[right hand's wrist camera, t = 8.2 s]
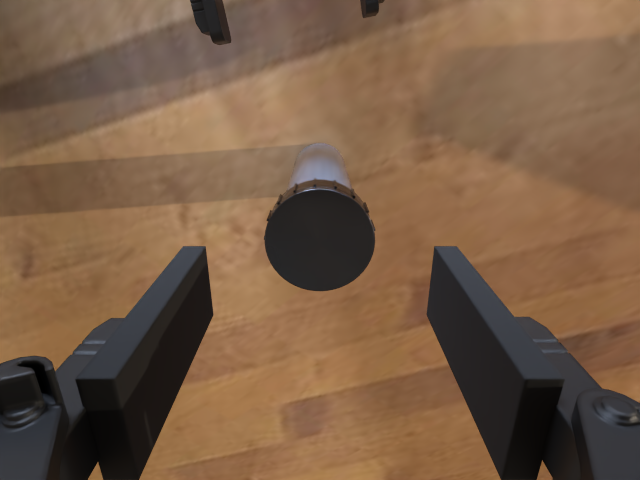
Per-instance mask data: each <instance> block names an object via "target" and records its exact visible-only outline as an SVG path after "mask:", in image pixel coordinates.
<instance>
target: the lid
mask: <svg viewBox="0 0 640 480" xmlns="http://www.w3.org/2000/svg"><path fill="white" fill-rule="evenodd" d="M368 213H369V210H368V208H367V205H366V203H363V202H362V200H361V199H360V198H359V196H358V195H357V194H356V193H355V192H354V189H349V188H348V187H346V186H344V185H342V184H340V183H337V182H336V180H334V181H330V180H316V178H314V180H310V181H305V182H302V183H300V184H297V183H295V185H294V186H293V187H292V188H290V189H289V190H287V191H286V192H285V193H284V194H283V195H281V194H280V196H279V198H278V201H277V202H276V204H275V206H274V208H273V210H272V211H271V210H270V213H269V215H268V218H267V221H268V224H267V227H266V231H265V236H264V240H265V248H266V253H267V256H268V258H269V261H270V263H271V264H272V266H273V268H274V269H275V270H276V271H277V273H278V274H279V275H280V276H281V277H283V278H284V279H285V280H286V281H288V282H289V283H291V284H293V285H295V286H297V287H300V288H303V289H306V290H312V291H328V290H333V289H337V288H340V287H342V286H345V285H347V284H349V283H350V282H352V281H353V280H355V279H356V278H357V277H358V276H359V275H360V274H361V273H362V272H363V271H364V270H365V268H366V267H367V266H368V264H369V262H370V260H371V257H372V255H373V251H374V246H375V233H374V231H375V227H374V225H373V222H372V220H371V219H370V217H369V214H368Z"/></svg>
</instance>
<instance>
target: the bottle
mask: <svg viewBox="0 0 640 480" xmlns="http://www.w3.org/2000/svg"><path fill="white" fill-rule="evenodd" d="M314 178H316V180H330V181H334V180H336V182H337V183H340V184H342V185H344V186H346V187H348V188H349V189H352V185H351V182H350V178H349V175H348V172H347V168H346V165H345V162H344V159H343V157H342V155H341V154H340V152H339V151H338V150H337V149H336V148H334V147H333V146H331V145H328V144H324V143H315V144H312V145H309V146H307V147H306V148H304V149H303V150H302V151H301V152H300V153H299V155H298V156H297V158H296V161H295V164H294V168H293V171H292V174H291V178H290V181H289V184H288V188H287V190H289V189H290V188H292V187H293V186H294V185H295V183H297V184H300V183H302V182H305V181H310V180H314Z"/></svg>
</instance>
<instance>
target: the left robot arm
mask: <svg viewBox="0 0 640 480" xmlns="http://www.w3.org/2000/svg"><path fill="white" fill-rule="evenodd" d="M360 1H361V9H362V16H363V18H366V17H372V16H376V14H377V13H378V11H379V3H383V1H384V0H360ZM190 2H191V6H192V9H193V13H194V17H195V21H196V24H197V26H198V27H199V29H200V30H201V32H202V33H204V34H206V35H210V36H211V39H212V41H213V43H215V44H218V45H222V44H227V43H231V36H230V32H229V27H228V23H227V19H226V14H225V10H224V5H223V1H222V0H190Z"/></svg>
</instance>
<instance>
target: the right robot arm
mask: <svg viewBox="0 0 640 480" xmlns="http://www.w3.org/2000/svg"><path fill="white" fill-rule="evenodd" d="M212 317H213V307H212V299H211V290H210V281H209V272H208V264H207V255H206V246H183V247H182V249H181V250H180V251H179V252H178V254H177V255H176V256H175V257H174V258H173V260H172V261H171V262H170V263H169V265H168V266H167V267H166V268H165V270H164V271H163V272H162V273H161V274H160V276H159V277H158V278H157V279H156V281H155V282H154V283H153V284H152V285H151V287H150V288H149V289H148V290H147V292H146V293H145V294H144V295H143V296H142V298H141V299H140V300H139V301H138V303H137V304H136V305H135V306H134V307H133V309H132V310H131V311H130V312H129V314H128V315H127V316H126V317H125V318H111V319H109V320H107V321H106V322H104V323H103V324H101V325H99V326H98V327H96V328H95V329H93V330H92V331H91V333H90V334H89V335H88V336H87V337H86V338H85V339H84V340H83V341H82V344H80V345H79V346H78V347H77V348H76V349H75V350H74V351H73V355H70V356H69V357H68V358H67V359H66V360H65V361H64V362H63V364H62V365H61V366H60V367H59V368H58V369H57V370H56V371H55V370H54V367H53V364H52V362H51V361H50V360H49V359H47V358H46V357H39V356H28V357H20V358H17V359H13V360H10V361H7V362H3V363H1V364H0V480H88V478H89V476H90V474H91V473H92V471H93V469H94V467H95V466H96V464H97V462H99V466H100V469H101V473H102V476H103V480H139V478H140V476H141V474H142V471H143V469H144V467H145V465H146V463H147V460H148V458H149V456H150V454H151V452H152V449H153V447H154V445H155V443H156V441H157V438H158V436H159V434H160V432H161V429H162V427H163V425H164V423H165V421H166V418H167V416H168V414H169V412H170V410H171V407H172V405H173V403H174V401H175V398H176V396H177V394H178V392H179V390H180V387H181V385H182V383H183V381H184V379H185V376H186V374H187V372H188V370H189V368H190V365H191V363H192V361H193V359H194V356H195V354H196V352H197V350H198V348H199V345H200V343H201V341H202V339H203V337H204V334H205V332H206V330H207V328H208V326H209V323H210V321H211V319H212ZM427 317H428V319H429V321H430V323H431V326H432V328H433V330H434V332H435V334H436V337H437V339H438V341H439V343H440V345H441V348H442V350H443V352H444V354H445V356H446V359H447V361H448V363H449V365H450V368H451V370H452V372H453V374H454V376H455V379H456V381H457V383H458V385H459V387H460V390H461V392H462V394H463V396H464V398H465V401H466V403H467V405H468V407H469V410H470V412H471V414H472V416H473V418H474V421H475V423H476V425H477V427H478V429H479V432H480V434H481V436H482V438H483V440H484V443H485V445H486V447H487V449H488V452H489V454H490V456H491V458H492V460H493V463H494V465H495V467H496V469H497V471H498V474H499V476H500V478H501V480H537V476H538V473H539V469H540V466H541V462H542V460H543V462H544V464H545V465H546V467H547V469H548V470H549V472H550V474H551V476H552V477H553V479H552V480H640V403H638V402H637V401H635V400H633V399H631V398H629V397H627V396H625V395H623V394H620V393H617V392H614V391H611V390H607V389H602V388H601V387H600V386H599V385H598V384H597V382H596V381H595V380H594V379H593V378H592V377H591V376H590V375H589V374H588V373H587V372H586V370H585V369H584V368H583V367H582V366H581V365H580V364H579V363H578V362H577V361H576V359H575V358H574V357H573V356H572V355H571V354H570V353H568V351H567V350H566V348H565V347H564V346H563V345H562V344H561V343H558V340H557V339H556V337H555V336H554V335H553V334H552V333H551V332H550V331H549V330H548V329H547V328H546V327H545V326H543V325H541V324H540V323H538V322H537V321H535V320H533V319H532V318H530V317H514V316H513V315H512V314H511V312H510V311H509V310H508V309H507V307H506V306H505V305H504V304H503V303H502V301H501V300H500V299H499V298H498V296H497V295H496V294H495V293H494V292H493V290H492V289H491V288H490V287H489V285H488V284H487V283H486V282H485V281H484V279H483V278H482V277H481V276H480V274H479V273H478V272H477V271H476V270H475V268H474V267H473V266H472V265H471V263H470V262H469V261H468V260H467V258H466V257H465V256H464V255H463V254H462V252H461V251H460V250H459V249H458V247H457V246H434V255H433V264H432V273H431V281H430V290H429V299H428V307H427Z"/></svg>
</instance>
